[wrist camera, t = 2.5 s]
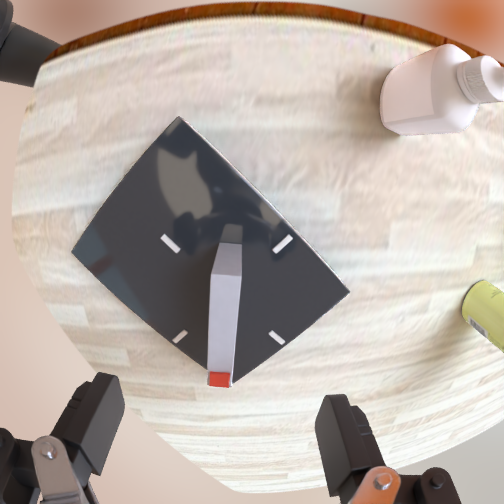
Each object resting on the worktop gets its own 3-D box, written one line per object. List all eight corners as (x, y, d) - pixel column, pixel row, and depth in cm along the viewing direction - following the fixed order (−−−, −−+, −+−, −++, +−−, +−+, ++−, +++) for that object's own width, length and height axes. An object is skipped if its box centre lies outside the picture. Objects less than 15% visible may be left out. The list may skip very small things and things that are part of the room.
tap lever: (219, 242, 18) (210, 275, 13) (242, 244, 18) (241, 278, 13) (213, 337, 20) (206, 388, 15) (233, 338, 20) (231, 390, 15)
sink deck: (89, 240, 20) (69, 252, 17) (187, 121, 18) (177, 115, 15) (231, 363, 24) (230, 387, 21) (338, 275, 22) (351, 293, 19)
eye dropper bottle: (358, 99, 18) (467, 57, 6) (399, 61, 16) (503, 16, 5) (395, 143, 19) (517, 147, 7) (432, 103, 17) (545, 90, 6)
